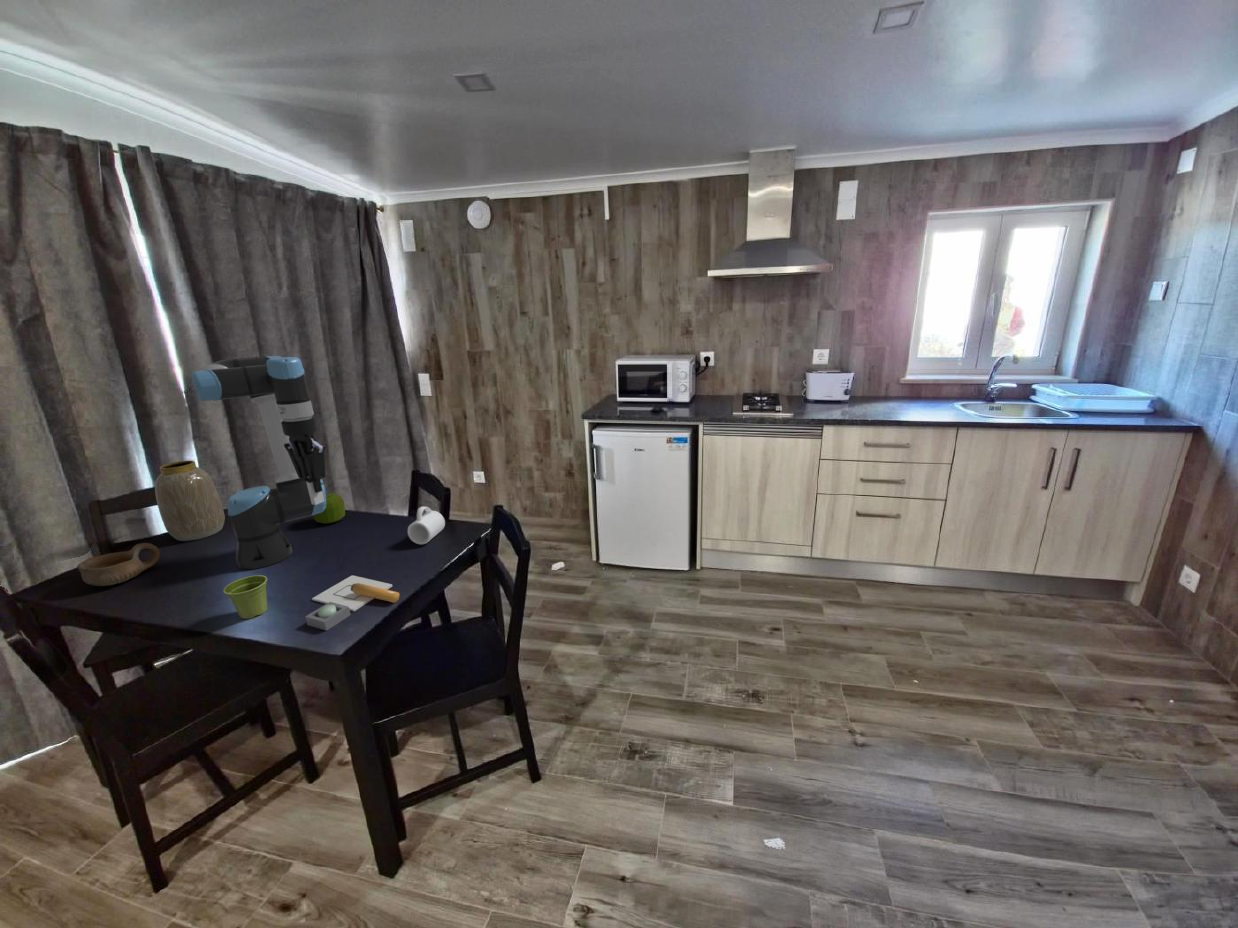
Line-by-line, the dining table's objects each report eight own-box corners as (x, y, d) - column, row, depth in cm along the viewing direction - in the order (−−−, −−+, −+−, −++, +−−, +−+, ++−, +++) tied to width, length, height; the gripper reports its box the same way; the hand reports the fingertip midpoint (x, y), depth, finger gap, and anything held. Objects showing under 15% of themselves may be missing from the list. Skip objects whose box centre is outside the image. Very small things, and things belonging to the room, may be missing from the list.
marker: (349, 585, 137) (391, 595, 133) (356, 580, 140) (398, 590, 136) (350, 594, 138) (392, 604, 134) (358, 589, 140) (400, 598, 137)
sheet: (312, 600, 138) (312, 598, 138) (352, 576, 149) (351, 575, 149) (354, 611, 132) (353, 609, 132) (392, 586, 143) (392, 584, 143)
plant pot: (246, 603, 138) (238, 576, 135) (282, 601, 138) (274, 573, 136) (224, 624, 129) (214, 595, 126) (262, 621, 129) (253, 592, 127)
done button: (316, 620, 128) (314, 612, 127) (330, 612, 131) (328, 603, 130) (327, 623, 126) (325, 615, 125) (341, 614, 130) (339, 606, 129)
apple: (307, 526, 187) (301, 499, 184) (328, 514, 197) (322, 489, 194) (334, 527, 185) (327, 500, 182) (353, 515, 195) (347, 489, 192)
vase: (201, 523, 194) (179, 457, 186) (240, 524, 192) (220, 457, 184) (156, 543, 178) (131, 472, 170) (198, 544, 176) (174, 472, 167)
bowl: (140, 556, 165) (136, 531, 162) (171, 571, 162) (168, 546, 159) (70, 584, 149) (64, 556, 145) (104, 601, 146) (99, 573, 143)
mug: (446, 531, 177) (441, 500, 174) (431, 545, 168) (426, 512, 164) (425, 531, 179) (420, 500, 175) (409, 544, 169) (403, 511, 165)
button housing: (307, 624, 127) (305, 616, 126) (331, 609, 133) (329, 601, 132) (326, 630, 124) (324, 622, 124) (350, 614, 130) (348, 606, 130)
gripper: (266, 420, 128) (288, 505, 135) (301, 422, 123) (322, 510, 130) (294, 414, 135) (314, 495, 142) (328, 416, 130) (347, 500, 137)
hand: (318, 502), depth 136 cm, fingers closed
